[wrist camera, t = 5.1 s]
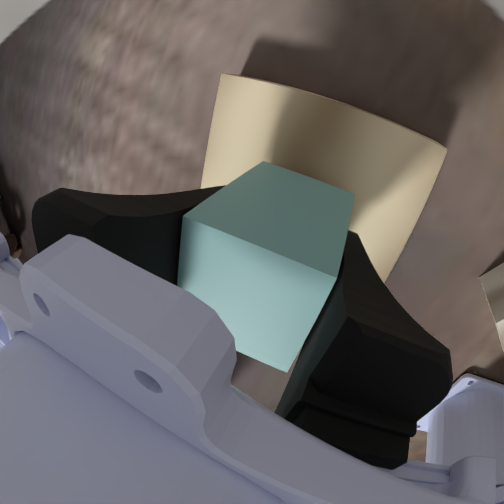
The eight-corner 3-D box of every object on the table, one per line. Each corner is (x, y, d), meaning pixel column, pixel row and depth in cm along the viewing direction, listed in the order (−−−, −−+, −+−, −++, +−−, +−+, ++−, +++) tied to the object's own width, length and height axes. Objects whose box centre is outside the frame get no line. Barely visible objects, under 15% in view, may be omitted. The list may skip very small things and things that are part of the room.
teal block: (355, 194, 11) (337, 278, 7) (323, 271, 14) (286, 372, 9) (263, 160, 12) (182, 215, 7) (244, 239, 14) (175, 320, 10)
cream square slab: (437, 142, 11) (447, 149, 10) (361, 302, 17) (358, 325, 15) (239, 75, 13) (221, 73, 11) (208, 240, 19) (191, 255, 17)
